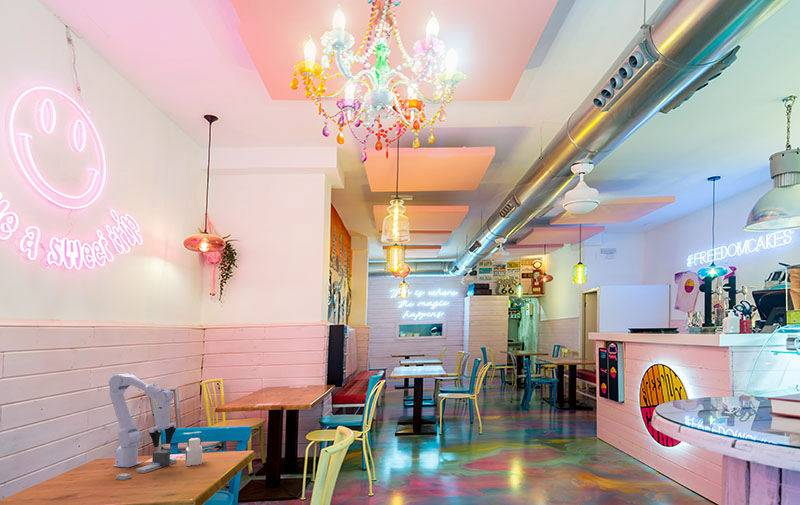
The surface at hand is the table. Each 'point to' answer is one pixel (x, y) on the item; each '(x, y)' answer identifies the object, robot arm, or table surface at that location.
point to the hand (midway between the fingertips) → (162, 445)
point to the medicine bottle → (194, 452)
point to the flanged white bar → (143, 470)
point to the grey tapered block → (161, 457)
